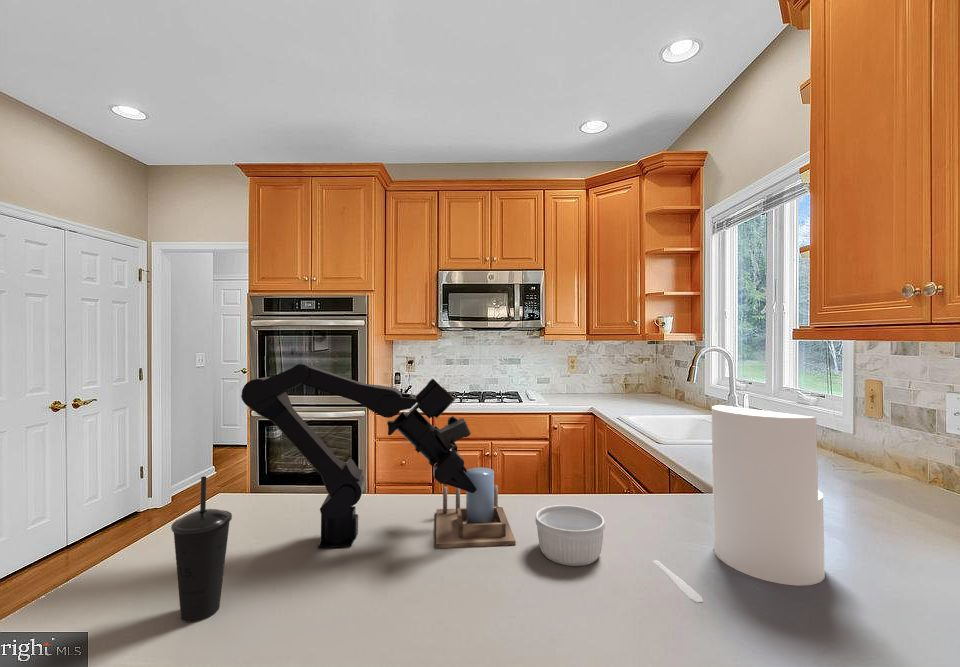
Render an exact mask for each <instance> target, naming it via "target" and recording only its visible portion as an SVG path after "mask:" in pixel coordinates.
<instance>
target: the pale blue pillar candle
mask: <svg viewBox="0 0 960 667" xmlns="http://www.w3.org/2000/svg"><path fill="white" fill-rule="evenodd" d="M466 470H467V471H466V474H467V476H468V477H469V479H470V480H471V481H472V483H473V484H474V486H475V487H476V489H477V490H476V491H475V492H474V493H471V492H468V491H466V494H465V498H466V499H465V500H466V501H465V502H466V504H465V505H466V507H465V508H466V524H475V523H494V485H495V471H494V469H492V468H489V467H472V468H469V469H466Z"/></svg>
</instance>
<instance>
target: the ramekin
mask: <svg viewBox="0 0 960 667" xmlns="http://www.w3.org/2000/svg"><path fill="white" fill-rule="evenodd" d="M535 525H536V528H537V529H536V530H537V539H538V544H539V548H540V550H541V552H542V553H543V555H544V556H545V557H546V558H547V559H549V560H550V561H552V562H554V563H556V564H560V565H563V566H569V567H581V566H582V567H583V566H588V565H591V564H593V563H594V562H596V561H597V560H598V559H599V557H600V556H601V554H602V550H603V540H604V531H605V530H606V523H605V518H604V517H603V516H602V515H601V513H599V512H597V511H595V510H593V509H590V508H586V507H583V506H578V505H571V504H556V505H555V504H554V505H549V506H545V507H542V508H541V509H539V510H538V511H537V512H536V513H535Z"/></svg>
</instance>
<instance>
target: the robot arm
mask: <svg viewBox="0 0 960 667" xmlns="http://www.w3.org/2000/svg"><path fill="white" fill-rule="evenodd" d="M300 385H305V386H308V387H312V388H314V389H317V390H320V391H323V392H326V393H329V394H331V395H332V394H333V395H336V396H339V397H342V398H345V399H348V400H351V401H354V402H356V403H358V404H360V405H362V406H363V407H364V408H366V409H368V410H369V411H371V412H374V413H375V414H377V415H379V416H380V417H383V418H385V419H386V418H389V419H390V418H393V417H395V416H396V418H394V420H389V419H388V420H387V422H386V423H387V436H391V435H392V434H394V433H395V432H396V431H398V432H399V433H400V434H401V435H402V436H403V437H404V438H405V439H406V440H407V441H408V442H409V443H410V444H411V445H412V446H413V447H414V450H415V451H416V452H417V453H418V454H419V453H420V454H421V455H422V456H423V457H424V458H425V459H426V460H427V462H428V464H429V465H430V466H431V467H433V471H432V472H433V478H434V479H435V480H436V481H437V482H438V483H439V484H440V485H447V486H449V487H450V486H451V487H454V488H455V489H456V488H459V489H460V490H463V491H468V492H471V493H474V492H475V491H476V490H477V489H476V487H475V486H474V484H473V483H472V481H471V480H470V479H469V477H468V476H467V474H466V471H467V470H468V469H467V468H466V466H465V460H464V458H463V457H462V456H461V455H460V453H458V446H457V444H456V442H457V441H460V440H461V439H464V438H468V437H469V436H471V431H470V429H469V427H468V424H467V422H466V420H465V418H464V417H463V418H461V417H460V418H456V417H455V416H454V415H453V416H449V417H448V418H447V425H444V426H443V427H441V428H439V427H438V426H437V425H432V424H431V422H429V420H427V419H426V418H425V416H426V417H427V418H428V419H431V418H432V419H433V418H436V419H438V418H439V417H440V416H441V415H442V414H443V413H444V412H445V411H446V410H447V409H448V408H449V407H450V406H451V405H452V404H453V403H454V402H455V401H456V399H455V398H454V397H453V395H451V393H450V392H449V391H447V389H446V388H444V386H443V387H442V386H441V385H440V384H439V382H437V381H436V380H435V379H434V378H431V379H430V380H429V381H428V382H427V384H426V385H425V386H424V387H423V388H422V389H421V390H420V391H419V392H418V393H417V394H412V393H402V392H401V390H399V389H398V388H396V387H394V386H393V387H392V386H387V385H386V386H385V385H379V384H369V383H364V382H361V381H356V380H355V379H351V378H349V377H345V376H343V375H339V374H336V373H332V372H330V371H328V370H324V369H321V368H318V367H315V366H313V365H311V364H309V363H299V364H296V365H294V366H293V367H291V368H289V369H287V370H283V371H281V372H278V374H275V375H273V376H265V377H260V378H255V379H251V380H249V381H247V382H246V383H245V385H244V386H243V388H241V395H240V397H241V400H242V402H243V403H244V405H245V406H247V407H248V408H249V409H251V410H252V411H254V413H256V414H257V415H259V416H261V417H262V418H265V419H266V420H268V421H270V422H271V423H273V424H274V425H275V426H276V427H277V428H278V429H279V430H280V432H282V433H283V435H284V436H285V437H286V439H288V440H289V441H290V443H292V444H293V446H294V447H295V448H296V449H297V450H298V451H299V452H300V454H302V455H303V457H304V458H305V459H306V460H307V462H309V463H310V464H311V466H312V467H313V468H314V469H315V470H316V471H317V472H318V473H319V475H320V477H321V480H322V482H323V485H324V486H325V489H326V492H327V493H328V494H327V495H326V498H325V499H324V501H323V502H322V504H321V505H320V506H321V507H320V508H319V511H320V541H319V542H318V545H317V548H321V549H322V548H327V549H328V548H344V547H345V548H347V547H348V548H349V547H351V546H352V545H353V543H354V542H355V540H356V539H357V537H358V535H359V534H358V533H359V515H358V513H357V512H356V506H355V505H356V504H358V502H359V501H360V499H361V497H362V494H363V491H364V489H365V486H366V485H365V484H366V483H365V482H366V481H365V480H366V479H365V477H364V475H363V473H364V470H363V469H361V468H359V467H358V466H357V465H356V463H355V461H354V460H353V459H352V458H351V457H350V458H349V459H348V460H347V461H346V462H345V461H343V459H340V458H338V456H336V455H335V454H334V452H332V450H331V449H330V448H329V447H328V446H327V444H326V443H325V442H324V441H323V440H322V439H321V438H320V437H319V436H318V434H317V433H315V431H314V430H313V429H312V428H311V427H310V425H308V423H307V422H306V420H304V419H303V417H302V416H301V415H300V414H299V413H298V412H297V411H296V410H295V409H294V407H293V405H292V403H291V401H290V400H291V399H290V397H289V395H288V393H287V392H288V391H289V390H292V389H294V388H296V387H298V386H300ZM418 409H419V410H420V411H421V412H422V413H423V414H424V415H425V416H424V415H422V414H421V413H420V411H418ZM405 410H409V411H408V412H406V411H405ZM400 412H401V413H400ZM398 414H399V415H398Z"/></svg>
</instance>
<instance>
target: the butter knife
mask: <svg viewBox="0 0 960 667" xmlns="http://www.w3.org/2000/svg"><path fill="white" fill-rule="evenodd" d="M652 562H653V563H654V564H655V565H657V566H658V568H660V570H662V571H663V573H664V574H665V575H666V576H667V577H668V578H669V579H670V581H671V582H672V583H673V584H674V585H675V586H676V587H677V588H678V589H679V590H680V591H681V592H682V593H683V594H684V595H685V596H686V597H687V598H689V599H690V600H691V601H693V602H694V603H696V604H697V603H698V604H699V603H703V602H704V600H703V598H702V596H701V595H700V594H699V593H698V592H697V590H695V589H694V588H693V587H691V586H690V585H689V584H688V583H686V581H684V580H683V579H682V578H680V577H679V576H678V575H676V574H675V573H673V572H672V571H671V570H670V569H668V567H666V566H665V565H664V564H662V563H661V561H659V560H658V559H652Z"/></svg>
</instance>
